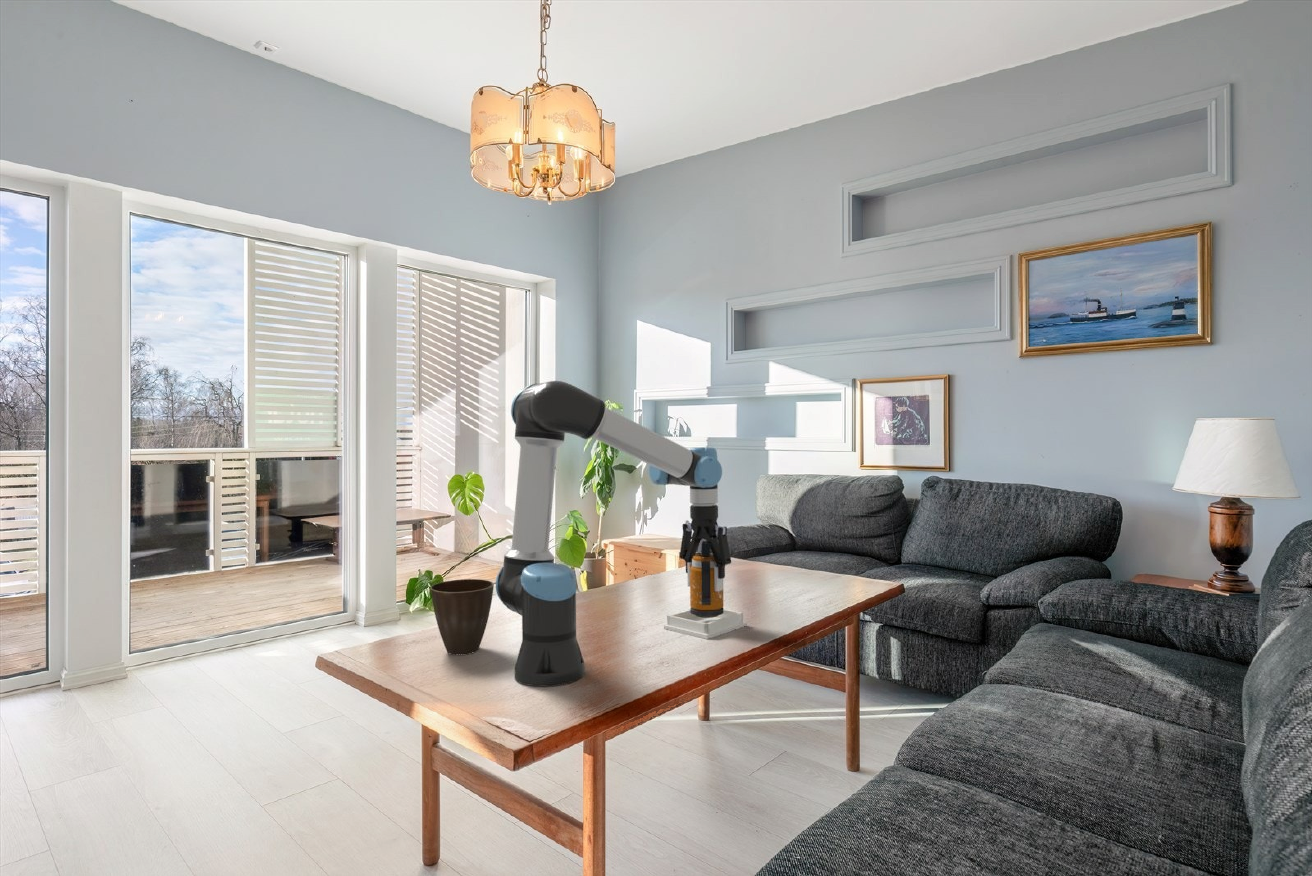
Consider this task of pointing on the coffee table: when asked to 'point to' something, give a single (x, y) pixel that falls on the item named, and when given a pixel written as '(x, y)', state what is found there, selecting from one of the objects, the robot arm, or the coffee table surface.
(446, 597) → the plant pot
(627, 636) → the coffee table surface
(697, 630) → the tray
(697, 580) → the canister
